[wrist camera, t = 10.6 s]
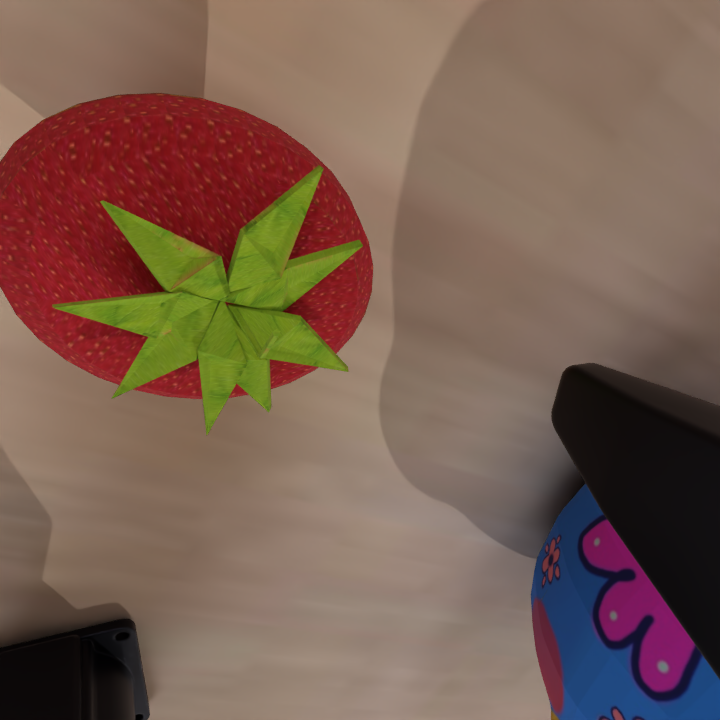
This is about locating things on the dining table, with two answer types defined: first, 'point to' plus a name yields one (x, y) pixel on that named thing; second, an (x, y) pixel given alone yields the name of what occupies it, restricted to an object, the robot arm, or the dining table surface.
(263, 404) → the strawberry
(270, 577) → the dining table surface
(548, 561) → the ceramic pot
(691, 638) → the robot arm
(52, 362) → the dining table surface
